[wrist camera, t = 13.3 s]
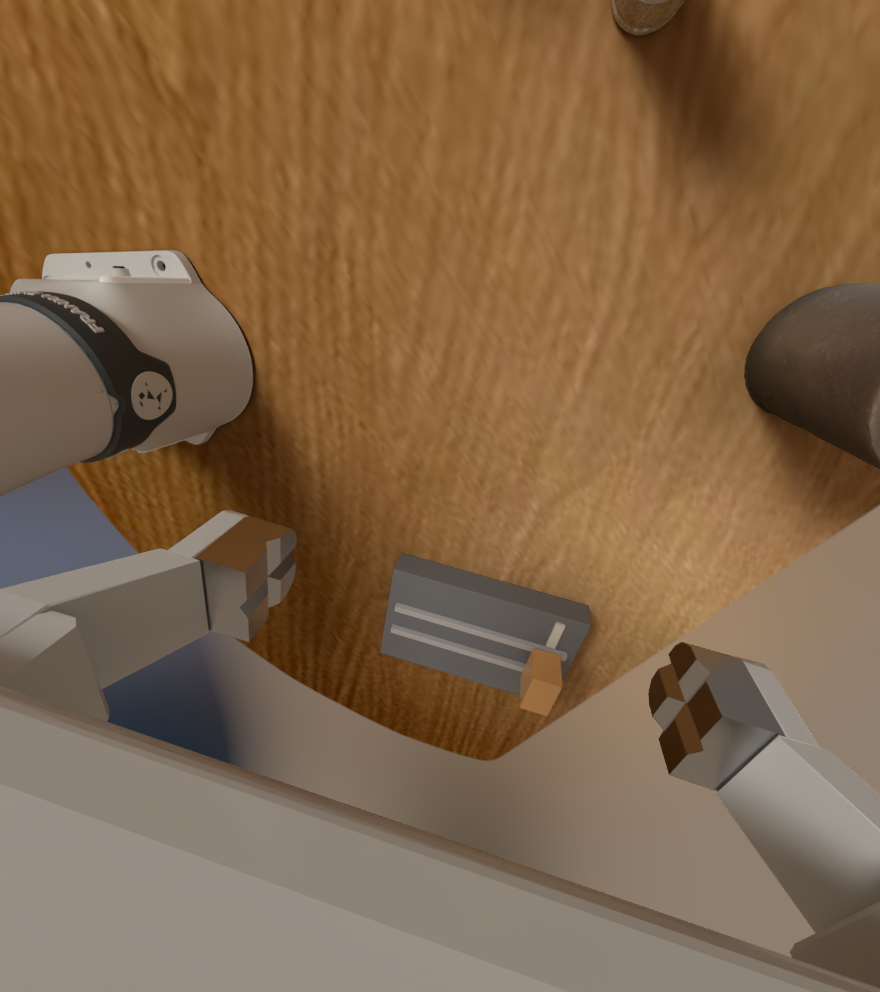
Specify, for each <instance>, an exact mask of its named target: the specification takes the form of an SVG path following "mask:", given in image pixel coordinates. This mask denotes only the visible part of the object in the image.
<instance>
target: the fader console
mask: <svg viewBox="0 0 880 992" xmlns="http://www.w3.org/2000/svg"><path fill="white" fill-rule="evenodd" d="M590 627H591V619H590V613H589V607H588V606H587V605H584V604H580V603H577V602H573V601H570V600H566V599H563V598H559V597H556V596H552V595H548V594H545V593H541V592H538V591H534V590H531V589H527V588H524V587H520V586H517V585H513V584H509V583H506V582H502V581H499V580H495V579H492V578H488V577H485V576H481V575H478V574H474V573H470V572H467V571H463V570H460V569H456V568H453V567H449V566H446V565H442V564H439V563H435V562H431V561H428V560H424V559H421V558H417V557H414V556H410V555H407V554H403V553H401V555H400V557H399V559H398V561H397V563H396V565H395V567H394V569H393V575H392V581H391V588H390V594H389V600H388V606H387V612H386V619H385V625H384V631H383V637H382V643H381V649H380V653H383V654H386V655H390V656H393V657H396V658H399V659H403V660H406V661H409V662H412V663H416V664H419V665H422V666H425V667H429V668H432V669H435V670H438V671H442V672H445V673H448V674H451V675H455V676H458V677H461V678H464V679H468V680H471V681H474V682H477V683H481V684H484V685H487V686H490V687H494V688H497V689H500V690H503V691H507V692H510V693H513V694H516V695H520V681H521V675H522V672H523V670H524V668H525V665H526V663H527V661H528V659H529V656H530V654H531V652H532V649H533V648H536V649H539V650H543V651H546V652H550V653H553V654H556V655H560V660H561V674H562V681H563V679H564V677H565V675H566V673H567V671H568V670H569V668H570V666H571V664H572V662H573V660H574V658H575V656H576V654H577V652H578V650H579V648H580V647H581V645H582V643H583V641H584V639H585V637H586V635H587V633H588V631H589V629H590Z"/></svg>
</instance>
